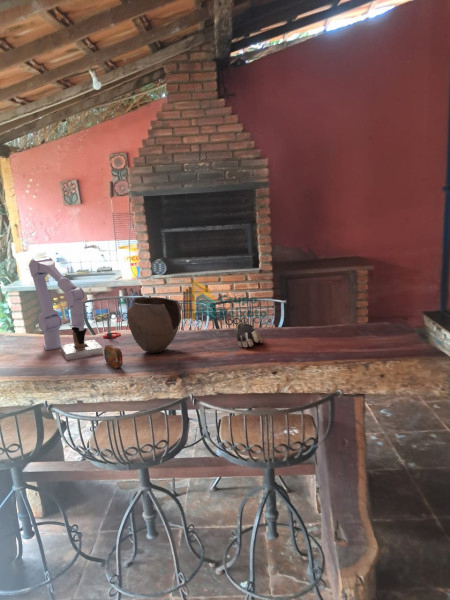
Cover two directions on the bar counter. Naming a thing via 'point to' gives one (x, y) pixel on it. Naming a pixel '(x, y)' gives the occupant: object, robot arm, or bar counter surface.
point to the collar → (81, 350)
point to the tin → (113, 356)
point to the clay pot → (154, 322)
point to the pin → (77, 342)
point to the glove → (247, 335)
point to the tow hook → (109, 334)
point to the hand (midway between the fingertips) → (80, 342)
